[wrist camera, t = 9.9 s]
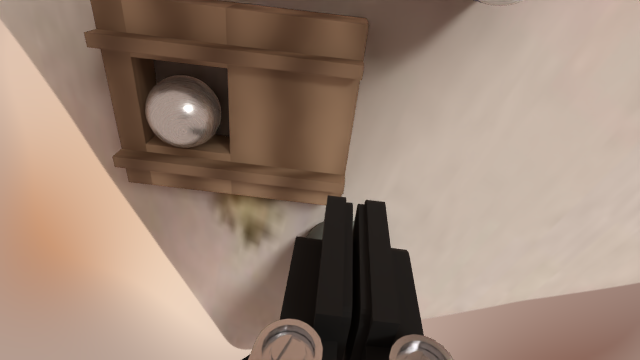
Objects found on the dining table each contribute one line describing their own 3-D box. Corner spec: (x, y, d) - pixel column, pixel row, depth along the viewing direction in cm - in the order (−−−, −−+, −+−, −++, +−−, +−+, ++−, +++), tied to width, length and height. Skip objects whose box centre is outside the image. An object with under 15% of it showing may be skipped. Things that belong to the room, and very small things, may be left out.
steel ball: (125, 109, 26) (135, 73, 30) (162, 170, 30) (167, 130, 34) (207, 87, 26) (205, 55, 31) (232, 150, 30) (228, 114, 35)
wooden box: (366, 18, 28) (370, 28, 24) (340, 187, 37) (339, 216, 32) (115, -12, 28) (74, -8, 24) (146, 163, 37) (120, 190, 32)
